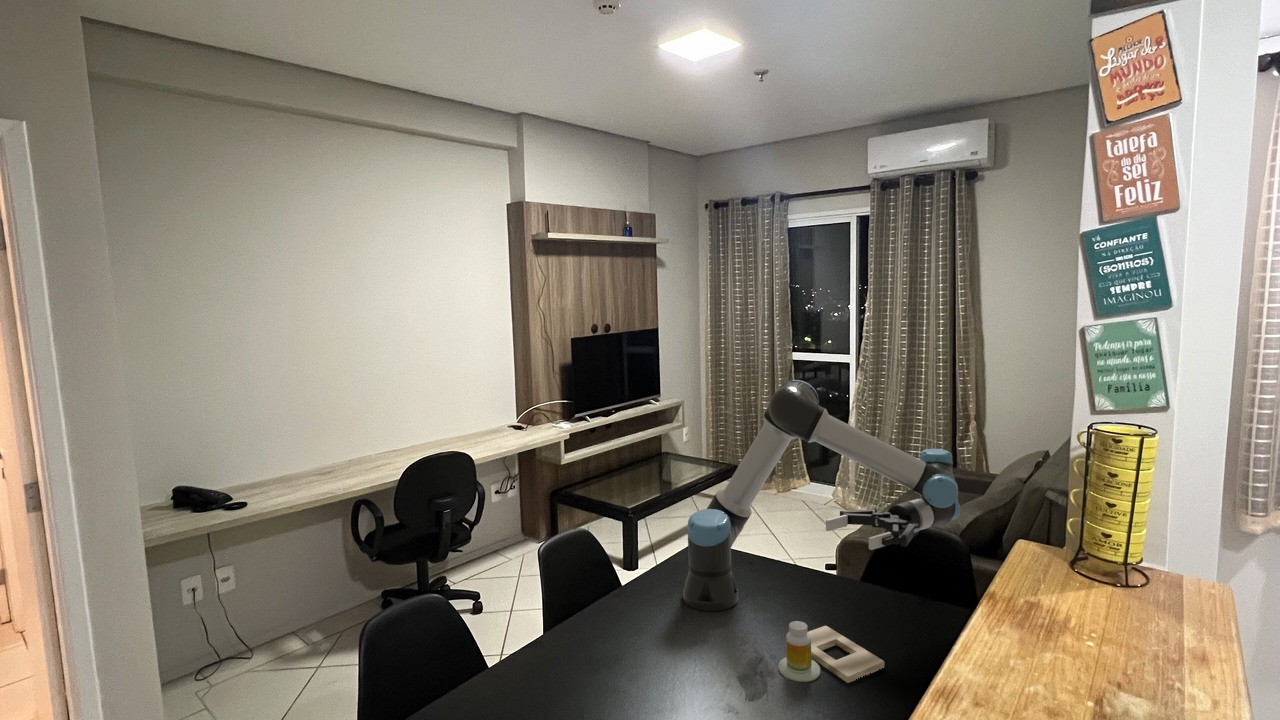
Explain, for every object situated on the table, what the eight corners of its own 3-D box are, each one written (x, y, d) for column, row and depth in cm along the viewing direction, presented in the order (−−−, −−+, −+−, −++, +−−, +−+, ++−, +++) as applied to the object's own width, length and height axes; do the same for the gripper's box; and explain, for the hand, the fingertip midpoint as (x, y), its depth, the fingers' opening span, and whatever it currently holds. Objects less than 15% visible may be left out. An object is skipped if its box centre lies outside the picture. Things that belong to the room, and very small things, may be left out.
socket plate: (791, 643, 153) (791, 637, 153) (825, 631, 158) (825, 625, 158) (847, 683, 137) (847, 676, 137) (884, 667, 142) (884, 661, 142)
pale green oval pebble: (770, 665, 145) (770, 663, 144) (800, 654, 149) (800, 651, 149) (797, 686, 137) (797, 684, 137) (829, 673, 141) (829, 671, 141)
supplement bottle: (812, 674, 140) (811, 632, 139) (787, 673, 141) (786, 631, 140) (810, 660, 145) (809, 619, 144) (786, 659, 146) (785, 618, 145)
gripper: (953, 548, 151) (890, 568, 141) (870, 516, 173) (810, 532, 163) (954, 517, 150) (890, 535, 141) (870, 489, 172) (810, 504, 163)
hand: (847, 534), depth 152 cm, fingers open, 13 cm apart
